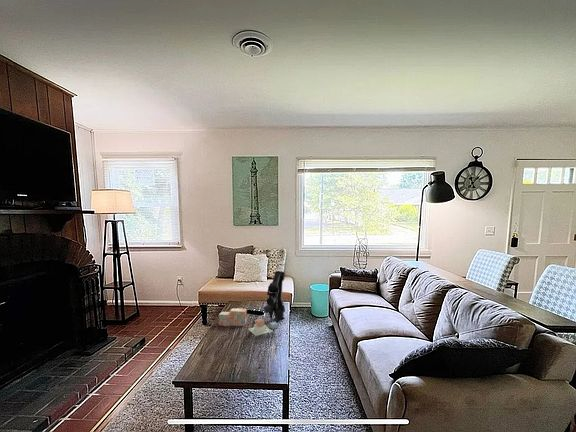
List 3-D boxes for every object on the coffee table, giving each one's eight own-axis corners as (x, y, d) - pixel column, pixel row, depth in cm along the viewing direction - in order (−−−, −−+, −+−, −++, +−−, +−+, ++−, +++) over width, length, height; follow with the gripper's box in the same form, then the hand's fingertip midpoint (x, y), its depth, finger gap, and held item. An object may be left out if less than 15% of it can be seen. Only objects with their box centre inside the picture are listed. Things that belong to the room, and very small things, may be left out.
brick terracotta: (261, 323, 213) (261, 318, 212) (264, 325, 208) (264, 320, 208) (255, 324, 210) (255, 319, 210) (258, 327, 206) (258, 322, 206)
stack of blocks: (219, 326, 219) (218, 310, 219) (221, 322, 225) (221, 307, 225) (245, 326, 217) (244, 311, 217) (247, 323, 223) (246, 308, 223)
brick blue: (275, 326, 217) (275, 321, 217) (278, 328, 212) (278, 323, 212) (269, 327, 214) (269, 322, 214) (272, 330, 210) (272, 325, 210)
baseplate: (264, 325, 219) (264, 324, 219) (272, 331, 207) (272, 330, 207) (247, 329, 211) (247, 328, 211) (255, 336, 200) (255, 335, 199)
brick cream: (262, 327, 214) (262, 322, 214) (266, 330, 208) (266, 325, 208) (254, 329, 210) (253, 324, 210) (257, 332, 204) (257, 328, 204)
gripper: (258, 299, 216) (259, 319, 217) (270, 306, 201) (270, 327, 201) (271, 297, 222) (271, 316, 223) (283, 303, 206) (283, 324, 207)
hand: (273, 320), depth 213 cm, fingers open, 9 cm apart
